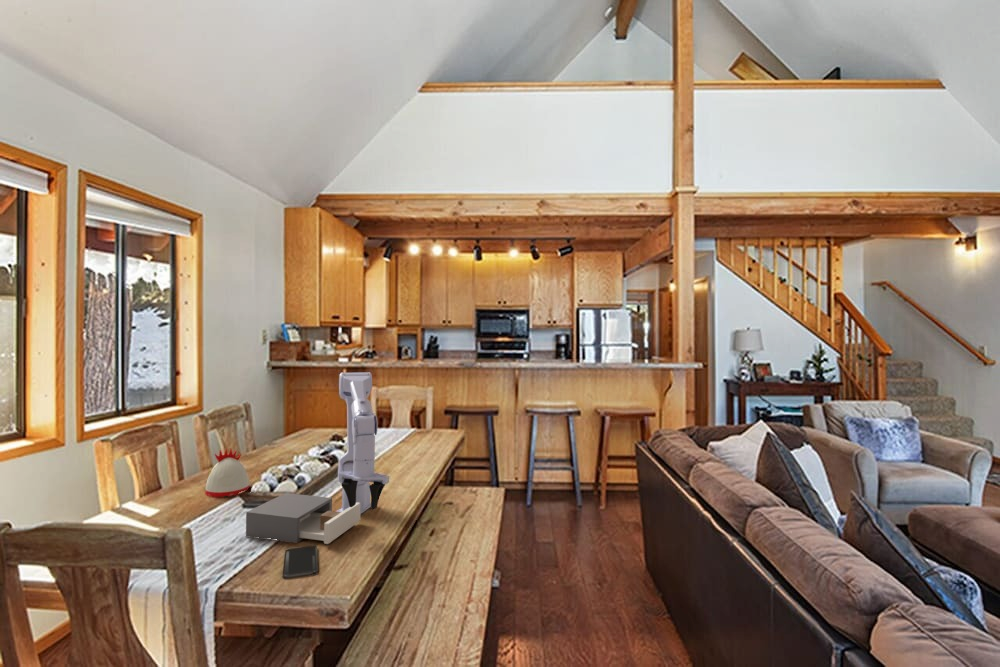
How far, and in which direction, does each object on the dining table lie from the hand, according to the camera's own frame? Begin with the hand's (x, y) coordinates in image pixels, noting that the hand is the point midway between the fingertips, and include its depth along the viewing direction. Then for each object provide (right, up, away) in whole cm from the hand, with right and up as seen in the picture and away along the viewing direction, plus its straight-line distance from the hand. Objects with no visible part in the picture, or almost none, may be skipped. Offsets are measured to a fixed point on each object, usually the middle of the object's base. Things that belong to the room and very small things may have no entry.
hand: (363, 507), depth 141 cm
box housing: (-23, -8, +5) cm, 24 cm away
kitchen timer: (-58, -7, +38) cm, 69 cm away
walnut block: (-10, -7, +2) cm, 12 cm away
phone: (-11, -9, -16) cm, 21 cm away
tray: (-13, -7, +3) cm, 15 cm away
